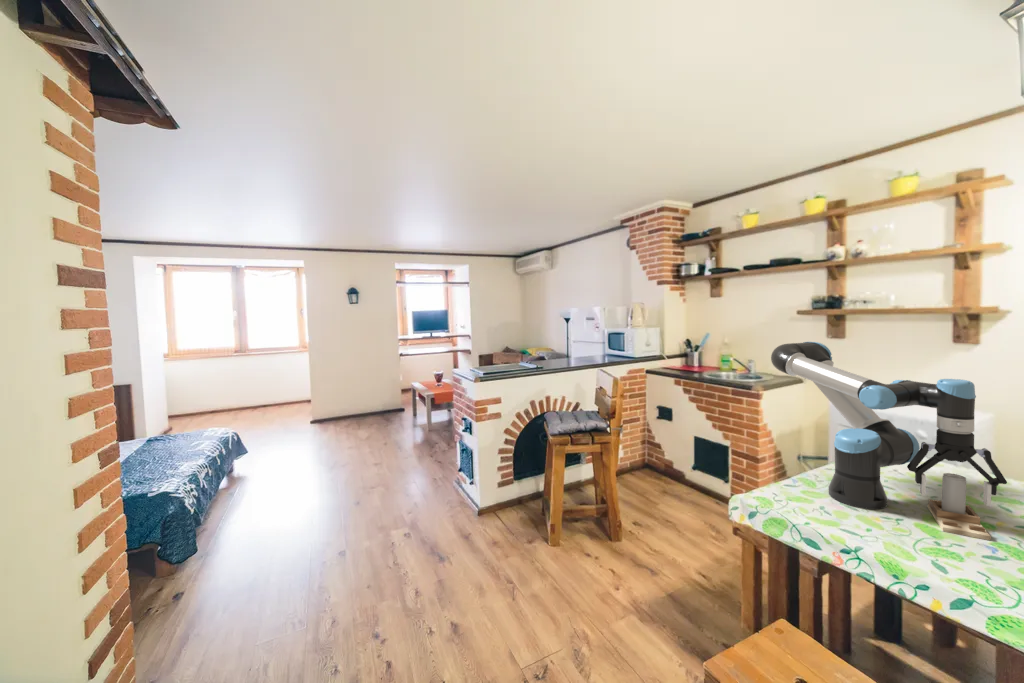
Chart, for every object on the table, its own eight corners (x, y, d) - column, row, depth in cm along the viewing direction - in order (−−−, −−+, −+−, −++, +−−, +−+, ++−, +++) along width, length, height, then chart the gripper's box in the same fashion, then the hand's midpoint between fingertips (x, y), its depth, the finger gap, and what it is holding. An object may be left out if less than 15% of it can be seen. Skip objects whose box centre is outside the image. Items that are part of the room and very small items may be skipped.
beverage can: (970, 518, 115) (971, 479, 114) (950, 517, 116) (952, 478, 115) (955, 510, 120) (956, 473, 119) (936, 509, 121) (937, 472, 120)
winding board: (942, 531, 112) (943, 520, 112) (927, 507, 125) (927, 498, 124) (990, 540, 106) (990, 529, 106) (969, 514, 119) (969, 504, 119)
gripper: (900, 428, 121) (899, 494, 122) (1026, 440, 106) (1023, 514, 107) (895, 422, 127) (894, 485, 128) (1013, 432, 112) (1011, 503, 113)
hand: (953, 499), depth 118 cm, fingers open, 13 cm apart
